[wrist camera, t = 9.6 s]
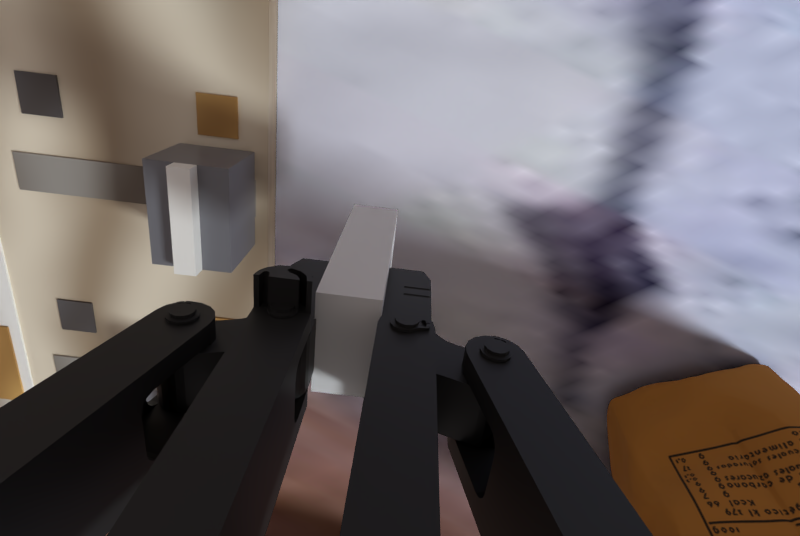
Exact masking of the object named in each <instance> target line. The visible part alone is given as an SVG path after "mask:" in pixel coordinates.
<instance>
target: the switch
mask: <svg viewBox="0 0 800 536" xmlns="http://www.w3.org/2000/svg"><path fill="white" fill-rule="evenodd" d="M142 164H143V174H144V185H145V195H146V205H147V215H148V226H149V236H150V246H151V257H152V264H158V265H166V266H174V274H180V275H188V276H197V275H198V274H199V273H200V272H201V271H202V270H209V271H218V272H226V273H232V272H233V271H234V269H235V268H236V267H237V266H238V264H239V263H240V262H241V261H242V260H243V258H244V257H245V256H246V255H247V254H248V252H249V251H250V250H251V249H252V247H253V246H254V245H255V152H251V151H243V150H234V149H226V148H218V147H209V146H201V145H193V144H184V143H178V144H176V145H174V146H171V147H169V148H166V149H164V150H161V151H159V152H157V153H154V154H152V155H149V156H147V157H144V158H142Z"/></svg>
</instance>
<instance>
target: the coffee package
mask: <svg viewBox="0 0 800 536" xmlns="http://www.w3.org/2000/svg"><path fill="white" fill-rule="evenodd" d="M607 432H608V444H609V454H610V466H611V472H612V478H613V479H614V481H615V482H616V483H617V485H618V486H619V488H620V489H621V491H622V492H623V493H624V495H625V496H626V498H627V499H628V500H629V502H630V503H631V505H632V506H633V508H634V509H635V510H636V512H637V513H638V515H639V516H640V518H641V519H642V520H643V522H644V523H645V525H646V526H647V528H648V529H649V530H650V532H651V533H652V535H653V536H800V394H799V393H798V392H797V391H796V390H795V389H794V388H793V387H791V386H790V385H789V384H788V383H786V382H785V381H784V380H783V379H782V378H780V377H779V376H778V375H777V374H776V373H775V372H774V371H773V370H772V369H771V368H769V367H768V366H765V365H760V364H748V365H744V366H741V367H737V368H733V369H726V370H720V371H715V372H710V373H706V374H703V375H699V376H695V377H688V378H685V379H681V380H676V381H668V382H660V383H654V384H650V385H646V386H642V387H640V388H638V389H636V390H634V391H632V392H630V393H627V394H625V395H622V396H619V397H616V398H614V399H612V400H611V401H610V403H609V406H608V410H607Z"/></svg>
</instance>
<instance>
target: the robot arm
mask: <svg viewBox="0 0 800 536" xmlns="http://www.w3.org/2000/svg"><path fill="white" fill-rule="evenodd" d="M397 215H398V209H390V208H381V207H373V206H365V205H357V204H354V206H353V208H352V211H351V213H350V215H349V217H348V220H347V222H346V224H345V227H344V229H343V231H342V233H341V236H340V238H339V240H338V243H337V245H336V247H335V249H334V252H333V254H332V256H331V259H330V261H329V262H328V261H320V260H312V259H301V260H299V261H298V262H296V263H294V264H292V265H291V266H280V265H278V266H271V267H266V268H263V269H260V270H258V271H257V272H256V273H255V274H253V294H254V307H253V309H252V310H251V312H250V313H249V315H248V316H247V317H246V318H242V319H233V320H216V321H215V311H214V310H213V309H212V308H211V306H208V305H206V304H204V303H199V302H193V301H186V302H185V301H179V302H176V303H172V304H167V305H165V306H163V307H160V308H158V309H156V310H155V311H153V312H151V313H150V314H148V315H147V316H145V317H144V318H142V319H140V320H139V321H137V322H136V323H134V324H132V325H131V326H129V327H128V328H126V329H124V330H123V331H121V332H120V333H118V334H116V335H115V336H113V337H112V338H110V339H109V340H107V341H105V342H104V343H102V344H101V345H99V346H97V347H96V348H94V349H93V350H91V351H89V352H88V353H86V354H85V355H83V356H81V357H80V358H78V359H77V360H75V361H73V362H72V363H70V364H69V365H67V366H66V367H64V368H62V369H61V370H59V371H58V372H56V373H54V374H53V375H51V376H50V377H48V378H46V379H45V380H43V381H42V382H40V383H38V384H37V385H35V386H34V387H32V388H31V389H29V390H27V391H26V392H24V393H23V394H21V395H19V396H18V397H16V398H15V399H13V400H11V401H10V402H8V403H7V404H5V405H3V406H2V407H0V536H105V535H106V534H107V533H108V532H109V531H110V532H109V533H108V535H107V536H265V534H266V531H267V527H268V524H269V521H270V518H271V515H272V512H273V509H274V506H275V503H276V500H277V496H278V493H279V490H280V487H281V484H282V481H283V478H284V475H285V472H286V469H287V465H288V462H289V459H290V456H291V453H292V450H293V447H294V444H295V441H296V438H297V434H298V431H299V428H300V425H301V422H302V419H303V416H304V413H305V410H306V407H307V393H308V386H309V383H310V380H311V377H312V381H311V391H314V392H322V393H330V394H338V395H347V396H355V397H363V398H364V401H363V407H362V413H361V418H360V424H359V430H358V435H357V441H356V446H355V452H354V458H353V463H352V469H351V475H350V480H349V486H348V491H347V497H346V503H345V508H344V514H343V520H342V525H341V531H340V536H440V506H439V467H438V433H439V434H442V435H445V436H447V437H448V438H447V441H448V448H449V450H450V453H451V456H452V459H453V461H454V464H455V467H456V470H457V472H458V475H459V478H460V480H461V483H462V486H463V489H464V491H465V494H466V497H467V500H468V502H469V505H470V508H471V510H472V513H473V516H474V519H475V521H476V524H477V527H478V530H479V532H480V535H481V536H653V535H652V533H651V532H650V530H649V529H648V528H647V526H646V525H645V523H644V522H643V520H642V519H641V518H640V516H639V515H638V513H637V512H636V510H635V509H634V508H633V506H632V505H631V503H630V502H629V500H628V499H627V498H626V496H625V495H624V493H623V492H622V491H621V489H620V488H619V486H618V485H617V483H616V482H615V481H614V479H613V478H612V476H611V475H610V473H609V472H608V471H607V469H606V468H605V466H604V465H603V464H602V462H601V461H600V459H599V458H598V456H597V455H596V454H595V452H594V451H593V449H592V448H591V446H590V445H589V444H588V442H587V441H586V439H585V438H584V436H583V435H582V434H581V432H580V431H579V429H578V428H577V427H576V425H575V424H574V422H573V421H572V419H571V418H570V417H569V415H568V414H567V412H566V411H565V409H564V408H563V407H562V405H561V404H560V402H559V401H558V400H557V398H556V397H555V395H554V394H553V392H552V391H551V390H550V388H549V387H548V385H547V384H546V382H545V381H544V380H543V378H542V377H541V375H540V374H539V372H538V371H537V370H536V368H535V367H534V365H533V364H532V363H531V361H530V360H529V358H528V357H527V355H526V354H525V353H524V351H523V350H522V349H521V348H519V347H518V346H517V345H516V344H514V343H512V342H510V341H508V340H506V339H504V338H500V337H496V336H480V337H475V338H473V339H471V340H469V341H468V343H467V345H466V346H465V348H464V347H460V346H457V345H454V344H452V343H449V342H447V341H445V340H444V339H442V338H440V337H439V336H438V335H437V334H436V333H435V327H434V325H433V322H431V280H430V279H429V278H428V277H427V276H426V274H425V273H424V272H421V271H412V270H404V269H396V268H391V267H392V258H393V249H394V241H395V232H396V223H397ZM155 388H156V389H157V395H156V396H155V397H154V398H153V399H151V400H150V401H148V402H147V401H146V399H147V397H148V396H149V395H150V394H151V393H152V391H153V390H154V389H155Z"/></svg>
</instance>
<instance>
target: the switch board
mask: <svg viewBox="0 0 800 536" xmlns="http://www.w3.org/2000/svg"><path fill="white" fill-rule="evenodd" d="M277 23H278V0H0V407H2V406H3V405H5V404H7V403H8V402H10V401H11V400H13V399H15V398H16V397H18V396H19V395H21V394H23V393H24V392H26V391H27V390H29V389H31V388H32V387H34V386H35V385H37V384H38V383H40V382H42V381H43V380H45V379H46V378H48V377H50V376H51V375H53V374H54V373H56V372H58V371H59V370H61V369H62V368H64V367H66V366H67V365H69V364H70V363H72V362H73V361H75V360H77V359H78V358H80V357H81V356H83V355H85V354H86V353H88V352H89V351H91V350H93V349H94V348H96V347H97V346H99V345H101V344H102V343H104V342H105V341H107V340H109V339H110V338H112V337H113V336H115V335H116V334H118V333H120V332H121V331H123V330H124V329H126V328H128V327H129V326H131V325H132V324H134V323H136V322H137V321H139V320H140V319H142V318H144V317H145V316H147V315H148V314H150V313H151V312H153V311H155V310H156V309H158V308H160V307H163V306H165V305H167V304H172V303H176V302H179V301H185V302H186V301H193V302H199V303H204V304H206V305H208V306H211V308H212V309H213V310H214V311H215V321H216V320H233V319H242V318H246V317H247V316H248V315H249V313H250V312H251V310H252V309H253V307H254V294H253V274H255V273H256V272H257V271H258V270H260V269H263V268H266V267H271V266H275V196H276V110H277ZM178 143H184V144H193V145H201V146H209V147H218V148H226V149H234V150H243V151H251V152H255V245H254V246H253V247H252V249H251V250H250V251H249V252H248V254H247V255H246V256H245V257H244V258H243V260H242V261H241V262H240V263H239V264H238V266H237V267H236V268H235V269H234V271H233V272H232V273H226V272H218V271H209V270H202V271H201V272H200V273H199V274H198V275H197V276H188V275H180V274H174V266H166V265H158V264H152V257H151V246H150V236H149V226H148V215H147V205H146V195H145V185H144V174H143V164H142V158H144V157H147V156H149V155H152V154H154V153H157V152H159V151H161V150H164V149H166V148H169V147H171V146H174V145H176V144H178Z"/></svg>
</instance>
